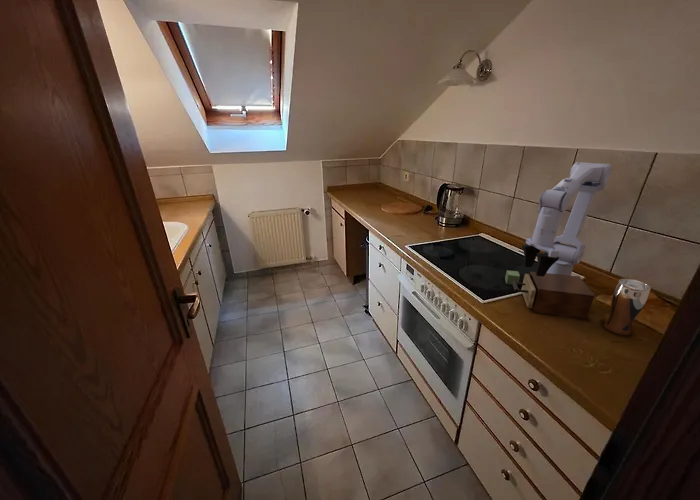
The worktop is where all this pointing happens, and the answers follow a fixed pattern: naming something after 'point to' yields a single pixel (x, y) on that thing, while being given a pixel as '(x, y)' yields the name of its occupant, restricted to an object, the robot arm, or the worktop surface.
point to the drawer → (527, 290)
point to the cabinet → (562, 295)
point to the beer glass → (626, 305)
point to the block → (512, 277)
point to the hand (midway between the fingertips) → (533, 271)
